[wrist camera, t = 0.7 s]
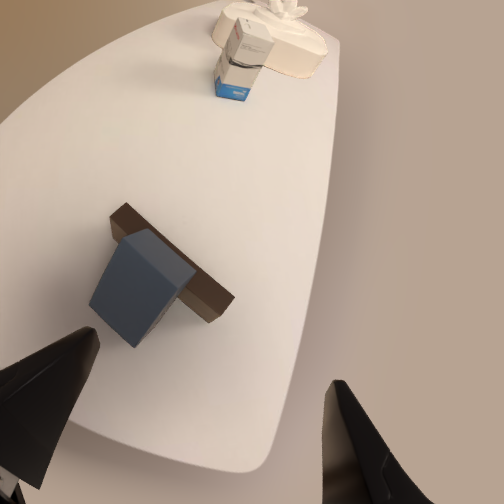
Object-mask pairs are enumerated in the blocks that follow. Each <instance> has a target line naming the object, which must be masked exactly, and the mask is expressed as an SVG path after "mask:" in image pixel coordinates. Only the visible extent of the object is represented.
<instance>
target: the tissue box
mask: <svg viewBox="0 0 504 504" xmlns="http://www.w3.org/2000/svg"><path fill="white" fill-rule="evenodd" d="M268 7H269V8H266V7H262V6H258V5H255V4H250V3H243V2H233V3H231V4H230V5H228V6H227V7H225V8H223V10H222V12H221V14H220V17H219V19H218V22H217V24H216V27H215V29H214V32H213V34H212V39H213V41H214V42H215V43H216V44H217V45H218V46H220V47H221V48H223V49H224V46H225V44H226V42H227V39H228V37H229V35H230V33H231V30H232V28H233V26H234V24H235V22H236V20H237V18H238V17H241V18H245V19H248V20H251V21H254V22H258V23H261V24H264V25H265V26H266V27H267V29H268V31H269V33H270V35H271V37H272V39H273V41H274V42H275V44H274V46H273V48H272V50H271V51H270V53H269V55H268V57H267V59H266V61H265V62H264V64H263V66H266V67H268V68H270V69H273V70H275V71H278V72H280V73H283V74H285V75H289V76H292V77H296V78H301V79H306V78H309V77H311V76H312V75H313V73H314V72H315V70H316V69H317V67H318V66H319V64H320V63H321V62H322V60H323V59H324V57H325V56H326V54H327V53H328V51H327V48H326V43H325V40H324V39H323V38H322V37H321V36H320V35H319V34H318V33H316V32H315V31H314V30H312V29H311V28H309V27H308V26H306V25H304V24H302V23H301V22H299V21H298V20H296V18H298V17H300V16H302V15H304V14H305V13H306V12H307V11H308V8H307V7H297V0H284V1H282V2H281V1H280V0H269V4H268Z"/></svg>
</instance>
